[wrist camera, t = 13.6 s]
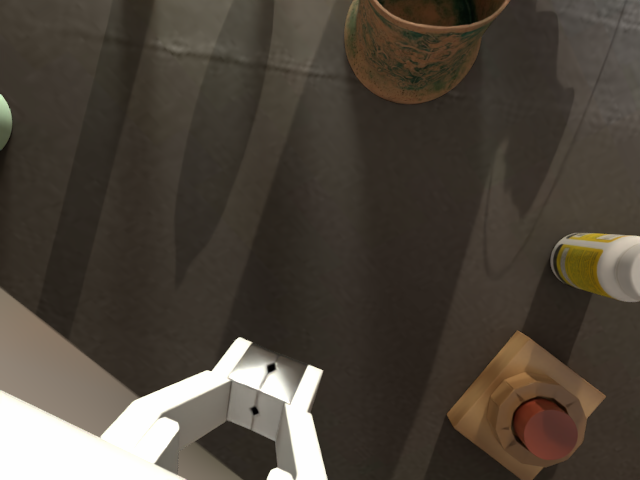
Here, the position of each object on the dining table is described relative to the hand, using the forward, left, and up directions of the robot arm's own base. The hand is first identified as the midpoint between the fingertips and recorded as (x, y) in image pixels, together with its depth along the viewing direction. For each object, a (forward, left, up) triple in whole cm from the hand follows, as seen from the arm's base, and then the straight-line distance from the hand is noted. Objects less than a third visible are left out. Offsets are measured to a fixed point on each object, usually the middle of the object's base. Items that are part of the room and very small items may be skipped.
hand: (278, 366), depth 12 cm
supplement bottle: (+15, -17, -21) cm, 31 cm away
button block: (+2, -21, -21) cm, 30 cm away
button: (+2, -21, -18) cm, 28 cm away
